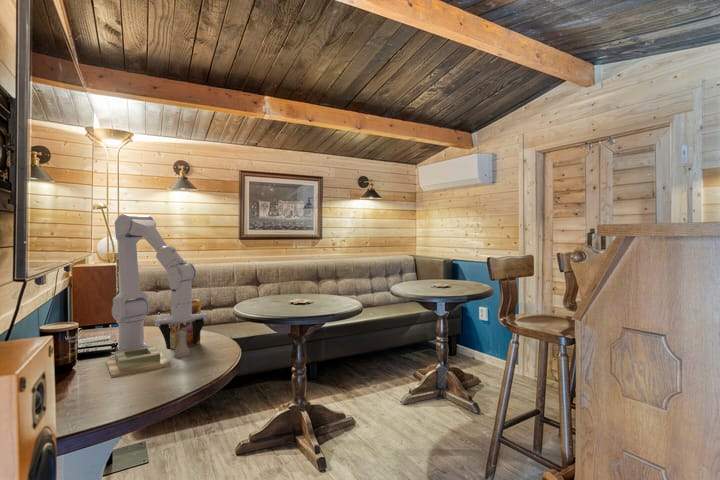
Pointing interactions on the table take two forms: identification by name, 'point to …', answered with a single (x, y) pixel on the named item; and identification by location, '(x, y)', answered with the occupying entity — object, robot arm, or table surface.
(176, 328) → the candy box
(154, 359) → the socket stand
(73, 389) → the table surface
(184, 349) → the rook chess piece
